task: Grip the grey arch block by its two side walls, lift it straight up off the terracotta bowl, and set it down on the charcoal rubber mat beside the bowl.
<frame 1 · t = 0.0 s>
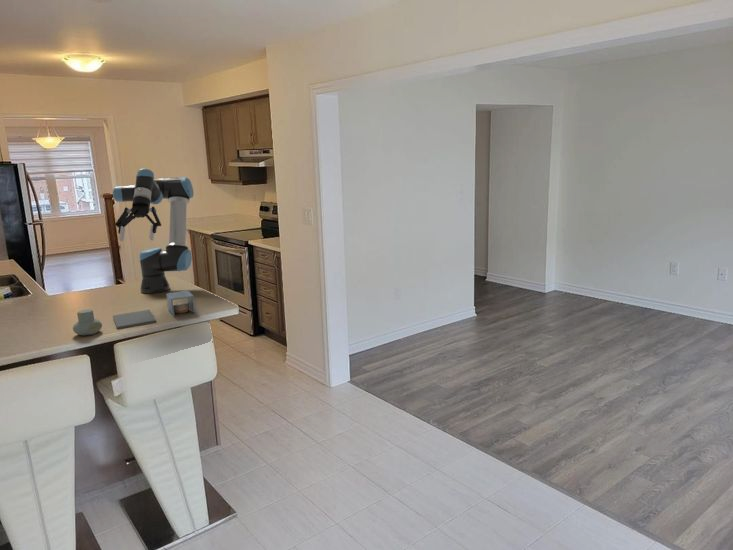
hand: (136, 239, 237), 36 cm above the counter, tool tilted 35°, fingers open, 13 cm apart
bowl: (181, 311, 249), on the counter
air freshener: (88, 334, 222), on the counter
mat: (134, 319, 239), on the counter
grey arch block: (181, 311, 249), on the counter
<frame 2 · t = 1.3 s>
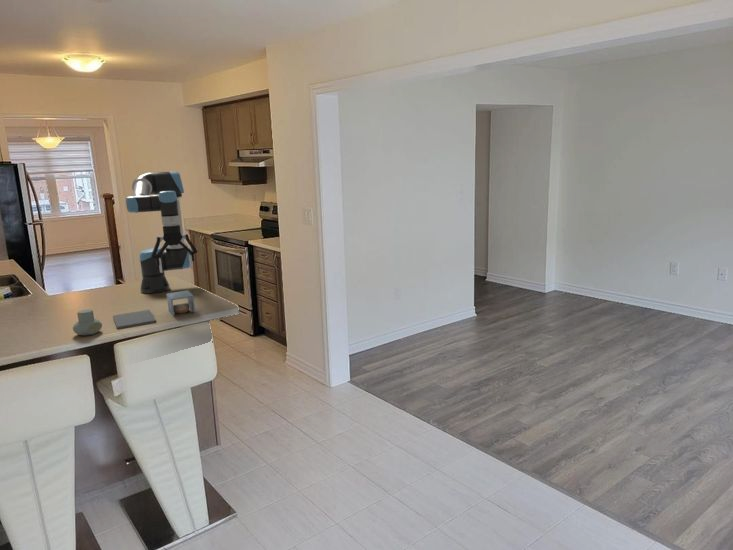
hand: (176, 270, 244), 20 cm above the counter, tool pointing down, fingers open, 13 cm apart
nothing on the counter moved.
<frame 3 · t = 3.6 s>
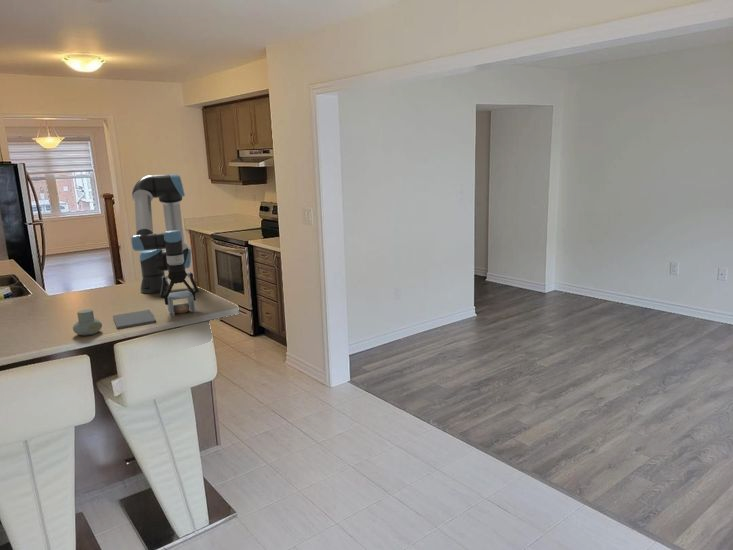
hand: (181, 309, 248), 1 cm above the counter, tool pointing down, fingers closed on grey arch block, 10 cm apart
grey arch block: (181, 311, 249), on the counter, touching gripper
everything else where it was.
when the fingers open (4 cm above the counter, at t = 11.0 s): grey arch block drops 1 cm, resting on mat.
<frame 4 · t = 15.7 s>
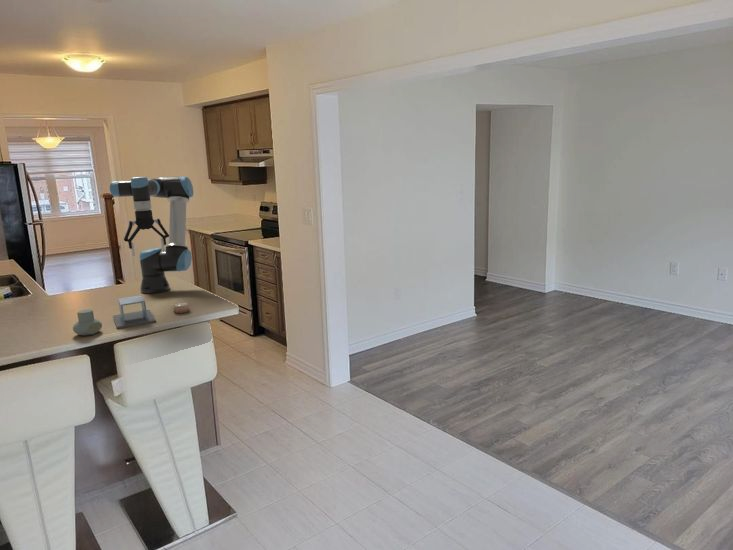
hand: (148, 253, 253), 27 cm above the counter, tool pointing down, fingers open, 13 cm apart
grey arch block: (134, 317, 238), point 1 cm above the counter, touching mat
everything else where it was.
at the end: grey arch block inside the target area on the mat (0.0 cm from its centre), point 1.0 cm above the mat's base; grey arch block tilted 0°; the gripper is holding nothing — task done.
